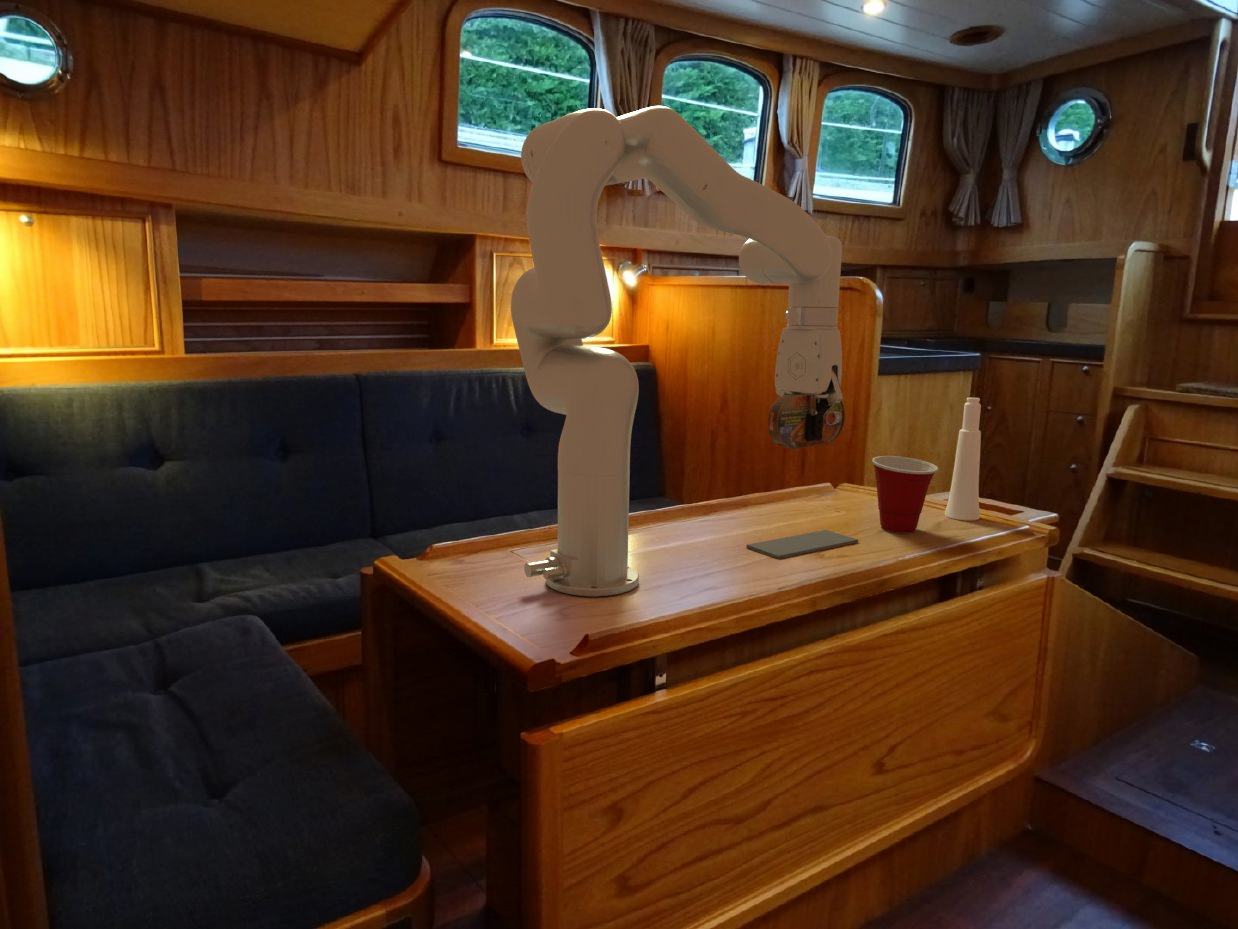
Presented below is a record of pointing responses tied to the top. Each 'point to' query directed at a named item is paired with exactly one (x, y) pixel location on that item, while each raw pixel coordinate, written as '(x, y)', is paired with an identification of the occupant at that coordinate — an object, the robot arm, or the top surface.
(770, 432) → the tin
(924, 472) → the plastic cup
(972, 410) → the cosmetic bottle
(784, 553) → the mat
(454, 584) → the top surface
